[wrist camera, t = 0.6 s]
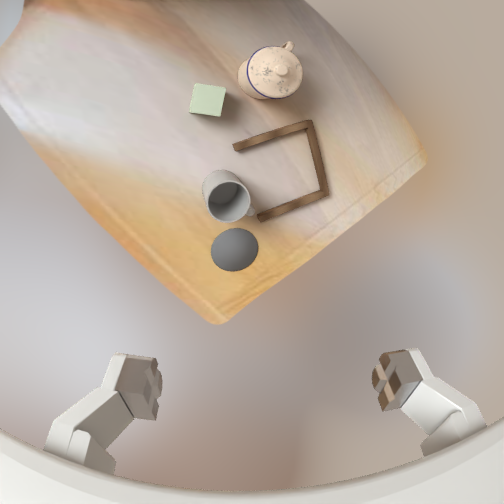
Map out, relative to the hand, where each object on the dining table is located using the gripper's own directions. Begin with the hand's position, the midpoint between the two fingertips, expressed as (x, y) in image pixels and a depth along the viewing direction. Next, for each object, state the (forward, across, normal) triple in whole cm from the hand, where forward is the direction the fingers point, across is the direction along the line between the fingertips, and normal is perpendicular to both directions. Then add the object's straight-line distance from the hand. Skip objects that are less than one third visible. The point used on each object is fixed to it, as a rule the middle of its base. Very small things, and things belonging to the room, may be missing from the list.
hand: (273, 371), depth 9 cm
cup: (+47, +4, +8) cm, 47 cm away
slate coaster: (+47, +2, +20) cm, 51 cm away
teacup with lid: (+48, -2, -16) cm, 51 cm away
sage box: (+46, +8, -10) cm, 47 cm away
